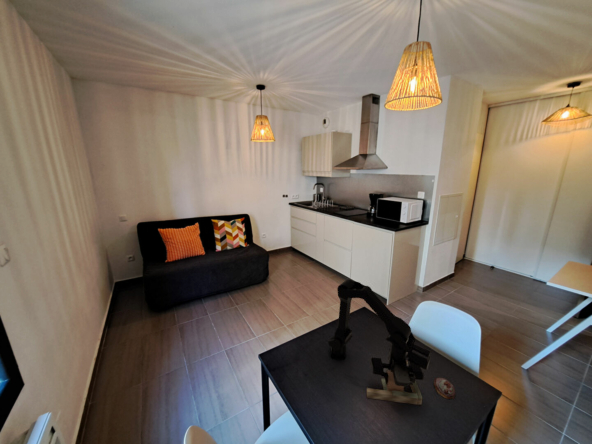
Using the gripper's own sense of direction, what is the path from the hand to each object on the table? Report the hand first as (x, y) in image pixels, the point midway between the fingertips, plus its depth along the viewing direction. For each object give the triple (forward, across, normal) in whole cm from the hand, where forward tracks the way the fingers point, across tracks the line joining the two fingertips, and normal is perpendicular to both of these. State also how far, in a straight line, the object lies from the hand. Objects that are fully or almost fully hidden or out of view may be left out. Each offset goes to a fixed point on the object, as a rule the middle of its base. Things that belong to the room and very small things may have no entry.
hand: (393, 384), depth 90 cm
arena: (+2, -1, +4) cm, 4 cm away
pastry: (+3, +20, +2) cm, 21 cm away
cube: (+1, 0, 0) cm, 1 cm away
